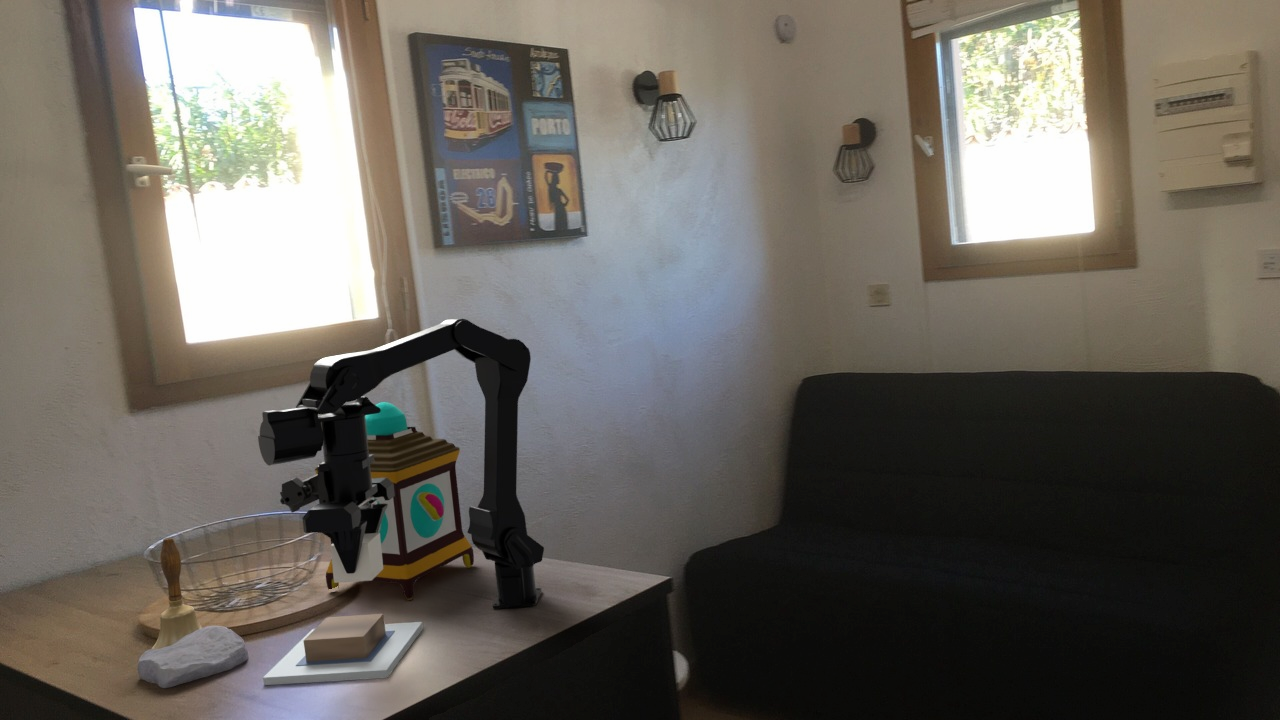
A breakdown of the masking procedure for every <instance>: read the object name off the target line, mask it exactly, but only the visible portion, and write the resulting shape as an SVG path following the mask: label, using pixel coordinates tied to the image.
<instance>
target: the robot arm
mask: <svg viewBox="0 0 1280 720" xmlns="http://www.w3.org/2000/svg"><path fill="white" fill-rule="evenodd" d="M451 351H455V352H456V353H458V354H459V356H461V357H462V358H465V359H466V360H468V361H470V362H472V363H474V368H475V374H476V380H477V382H478V385H479V387H480V389H481V391H482V394H483V396H484V401H485V403H484V404H485V405H484V449H483V450H484V452H483V454H484V456H483V457H484V459H483V460H484V461H483V466H484V467H483V495H482V497H481V499H480V501H479V503H478V505H477V506H473V505H470V506H469V508H468V515H469V526H468V529H467V532H466V533H467V534H469V535H470V536H471V541H472V543H473V545H474V546H475V547H476V548H477V549H478V550H479V551H481V552H482V554H483V556H484V558H485V560H487V561H492V562H494V570H495V572H494V573H495V579H496V590H497V595H496V597H495V600H494V601H493V602H492V609H505V608H507V609H508V608H518V607H519V608H521V607H533V606H536V605H537V604H538V601H539V599H540V596H541V595H542V592H543V590H542V588H541V587H536V577H535V567H534V565H536V564H538V563H540V562H542V561H543V556H544V551H545V548H544V546H543V545H541V544H540V543H539V542H538V541H536V540H535V539H534V538H532V537H531V536H529V535H528V529H527V528H528V527H527V520H526V519H527V518H526V515H525V512H524V510H523V508H522V505H521V503H520V501H519V498H518V495H517V490H518V489H517V486H518V483H517V481H518V480H517V479H518V478H517V477H518V434H519V433H518V430H519V429H518V428H519V427H518V426H519V425H518V424H519V423H518V419H519V418H518V417H519V399H520V396H521V395H522V392H523V391H524V388H525V387H526V384H527V383H528V378H529V375H530V374H529V373H530V372H529V371H530V366H531V352H530V349H529V347H527V345H525V342H522V340H520V339H517V338H506V337H504V336H503V335H501V334H498V333H495V332H493V331H490V330H488V329H486V328H483V327H481V326H478V325H477V324H475V323H473V322H471V321H470V320H468V319H466V318H448V319H445V320H443V321H442V322H441V323H439V324H435V325H434V326H432V327H428V328H426V329H422V330H421V331H418V332H415V333H413V334H410V335H407V336H405V337H402V338H400V339H397V340H394V341H392V342H390V343H387V344H384V345H381V346H379V347H376V348H373V349H369V350H364V351H357V352H348V353H343V354H338V355H331V356H326V357H323V358H321V359H319V360H317V361H316V362H315V363H314V364H313V366H312V369H311V371H310V375H309V383H308V385H307V387H306V388H305V390H304V392H303V394H302V395H301V396H300V397H301V398H299V401H298V402H297V404H296V405H295V408H288V409H282V410H277V409H276V410H275V409H274V410H272V409H271V410H270V409H269V410H264V411H262V413H261V415H262V422H261V424H260V426H259V427H260V428H259V435H258V436H257V441H258V447H259V451H260V454H261V457H262V459H263V462H264V463H265V464H266V465H267V466H274V465H275V466H276V465H281V464H286V463H291V462H297V461H302V460H303V461H304V460H308V459H313V458H315V457H316V456H317V454H318V452H322V451H323V461H324V462H322V461H321V462H322V463H321V462H320V463H319V464H318V465H317V471H318V474H316V473H315V474H314V475H312V476H310V477H308V478H305V479H303V480H301V479H300V478H299V477H297V476H296V477H293V478H292V479H290V480H288V481H287V480H286V481H285V482H283V483H281V491H280V492H279V494H280V497H281V498H280V504H282V505H285V506H287V507H288V508H289V510H290V512H291V513H296V512H297V511H300V509H301V508H302V507H305V506H307V505H309V504H311V503H314V502H316V501H318V504H316V505H315V506H312V508H310V509H308V510H307V511H306V513H305V514H304V515H303V516H302V517H301V519H302V527H303V533H305V534H313V533H314V534H315V533H318V534H319V533H322V535H324V536H326V537H327V538H329V539H330V542H331V541H332V542H333V544H334V546H335V548H336V551H337V553H338V555H339V557H340V560H341V562H342V564H343V566H344V569H345V571H346V573H348V574H350V573H355V572H356V568H357V564H358V560H359V556H360V551H361V546H362V542H363V537H364V534H369V533H378V530H379V527H380V524H381V521H382V519H383V516H384V513H385V510H386V508H387V506H388V504H377V499H375V500H374V498H378V497H384V499H385V501H386V500H390V499H392V498H393V497H394V496H395V493H394V483H393V482H391V481H390V480H389V479H388V478H387V477H386V478H371V469H370V464H372V463H373V462H375V460H374V454H371V455H369V449H368V439H367V429H366V419H365V416H366V415H370V414H376V413H380V411H381V409H380V408H379V407H377V406H376V404H375V403H373V402H372V401H371V400H370V399H369V397H367V396H364V395H366V394H368V393H370V392H371V391H373V390H375V389H376V388H377V387H379V386H380V384H381V383H382V382H384V381H385V380H386V379H387V378H389V377H391V376H392V375H395V374H397V373H399V372H402V371H405V370H406V369H409V368H412V367H414V366H416V365H419V364H422V363H423V362H426V361H430V360H432V359H434V358H436V357H439V356H441V355H443V354H447V353H448V352H451ZM350 402H353V403H350ZM329 502H333V503H329Z"/></svg>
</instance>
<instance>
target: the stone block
mask: <svg viewBox="0 0 1280 720" xmlns="http://www.w3.org/2000/svg"><path fill="white" fill-rule="evenodd" d="M248 660H249V652H248V648H247V646H246V644H245V641H244V639H243V638H242V637H241V636H240V635H238V634H237V633H236V632H235V631H233V630H232V629H231V628H227V627H226V626H222V625H208V626H204V627H202V628H201V629H199V630H197V631H195V632H193V633H191V634H189V635H186V636H184V637H183V638H182V639H180V640H179V641H178V642H176V643H175V644H173V645H171V646H168V647H164V648H161V649H152V648H149V649H148V650H145V651H144V652H143V653H142V655H141V656H140V657H139V659H138V661H137V662H138V663H137V667H136V668H137V672H138V676H139V678H140V679H141V680H142V681H143V680H144V681H146V682H147V683H152V684H157V685H158V687H160V688H162V689H168V688H173V687H175V686H179V685H183V684H186V683H190V682H192V681H195V680H199V679H202V678H206V677H210V676H213V675H216V674H219V673H222V672H225V671H229V670H232V669H234V668H235V667H237V666H239V665H241V664H243V663H244V662H246V661H248Z"/></svg>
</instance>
